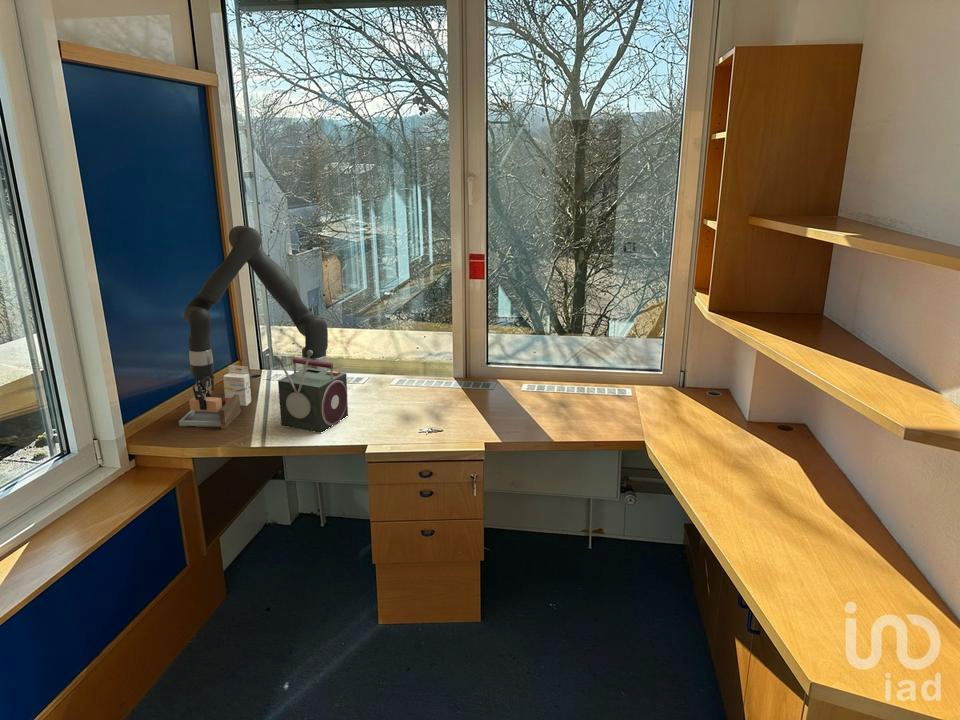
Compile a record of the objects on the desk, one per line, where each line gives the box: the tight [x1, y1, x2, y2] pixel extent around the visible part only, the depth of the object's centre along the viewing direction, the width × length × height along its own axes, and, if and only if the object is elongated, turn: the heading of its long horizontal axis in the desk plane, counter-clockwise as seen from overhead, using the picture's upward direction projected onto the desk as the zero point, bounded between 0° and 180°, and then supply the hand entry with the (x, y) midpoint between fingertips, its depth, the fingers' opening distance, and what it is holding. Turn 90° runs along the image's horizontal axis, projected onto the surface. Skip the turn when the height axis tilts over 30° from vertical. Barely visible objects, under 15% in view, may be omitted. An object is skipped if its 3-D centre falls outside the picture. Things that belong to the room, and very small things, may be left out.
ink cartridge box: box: [222, 364, 252, 407], centre depth 253 cm, size 9×5×15 cm, turn 84°
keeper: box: [178, 410, 221, 428], centre depth 239 cm, size 15×13×2 cm
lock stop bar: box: [188, 396, 223, 412], centre depth 237 cm, size 10×4×4 cm, turn 83°
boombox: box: [275, 350, 349, 433], centre depth 236 cm, size 18×21×30 cm
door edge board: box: [219, 394, 242, 430], centre depth 238 cm, size 2×16×7 cm, turn 1°
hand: (206, 406), depth 238 cm, fingers closed on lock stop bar, 4 cm apart
